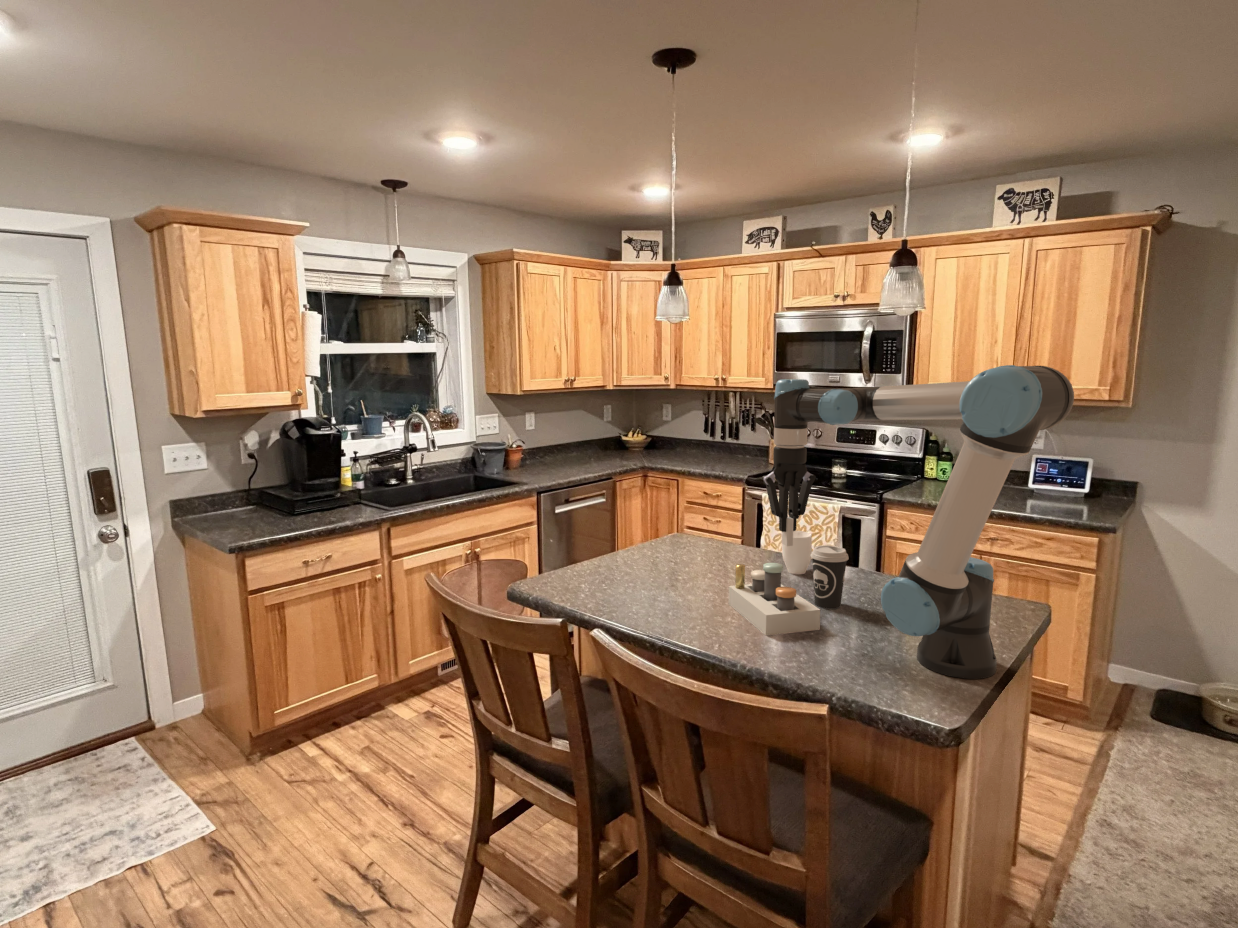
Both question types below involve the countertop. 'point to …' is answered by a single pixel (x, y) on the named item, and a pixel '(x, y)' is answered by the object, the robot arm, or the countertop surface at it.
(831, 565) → the coffee cup
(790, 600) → the knob
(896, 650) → the countertop surface
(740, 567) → the cylinder
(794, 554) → the mug
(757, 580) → the knob
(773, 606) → the panel
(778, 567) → the knob
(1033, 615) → the countertop surface
